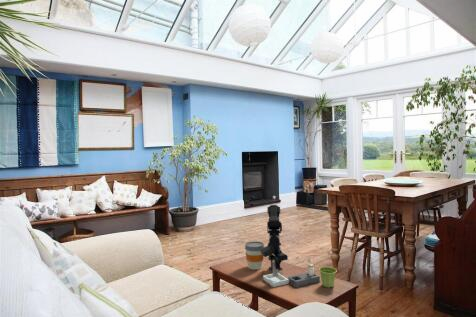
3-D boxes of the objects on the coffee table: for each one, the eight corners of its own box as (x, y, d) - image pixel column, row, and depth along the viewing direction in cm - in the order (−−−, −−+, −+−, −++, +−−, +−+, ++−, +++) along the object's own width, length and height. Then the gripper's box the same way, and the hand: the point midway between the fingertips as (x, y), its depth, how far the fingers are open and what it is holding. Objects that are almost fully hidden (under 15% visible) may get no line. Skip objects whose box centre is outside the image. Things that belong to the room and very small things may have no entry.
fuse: (307, 279, 180) (306, 264, 180) (311, 278, 181) (311, 263, 181) (310, 281, 177) (310, 266, 177) (315, 280, 178) (314, 265, 178)
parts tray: (263, 279, 182) (262, 275, 182) (277, 276, 186) (277, 272, 186) (273, 287, 171) (273, 283, 171) (288, 283, 175) (288, 279, 175)
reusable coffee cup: (243, 265, 207) (242, 242, 207) (260, 262, 211) (259, 240, 210) (249, 271, 195) (248, 248, 195) (267, 268, 199) (267, 245, 198)
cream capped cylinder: (271, 275, 180) (271, 260, 180) (276, 274, 181) (275, 259, 181) (274, 277, 177) (273, 261, 177) (279, 276, 178) (278, 260, 178)
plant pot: (338, 283, 173) (338, 268, 173) (334, 290, 165) (334, 274, 165) (322, 280, 178) (321, 265, 178) (317, 287, 170) (317, 271, 170)
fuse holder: (288, 281, 178) (288, 276, 178) (311, 276, 184) (311, 271, 184) (296, 287, 170) (296, 281, 170) (319, 281, 177) (319, 276, 177)
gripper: (254, 239, 184) (255, 265, 184) (270, 247, 167) (271, 276, 167) (271, 236, 188) (271, 262, 189) (287, 244, 171) (288, 272, 172)
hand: (275, 268), depth 179 cm, fingers closed on cream capped cylinder, 3 cm apart
